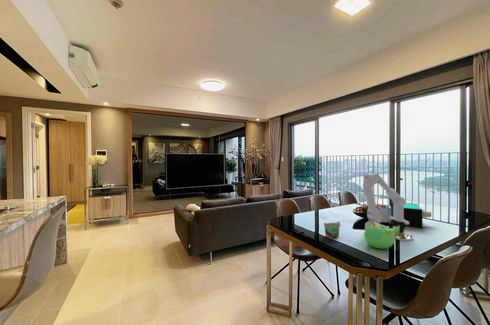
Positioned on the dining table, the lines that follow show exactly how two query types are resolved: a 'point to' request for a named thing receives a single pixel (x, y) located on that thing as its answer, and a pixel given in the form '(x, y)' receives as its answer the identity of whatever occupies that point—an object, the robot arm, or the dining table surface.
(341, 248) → the dining table surface
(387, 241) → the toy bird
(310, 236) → the dining table surface
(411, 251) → the dining table surface
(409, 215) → the electronic device
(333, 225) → the food container
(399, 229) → the birch block
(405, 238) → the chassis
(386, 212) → the ink cartridge box
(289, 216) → the dining table surface
